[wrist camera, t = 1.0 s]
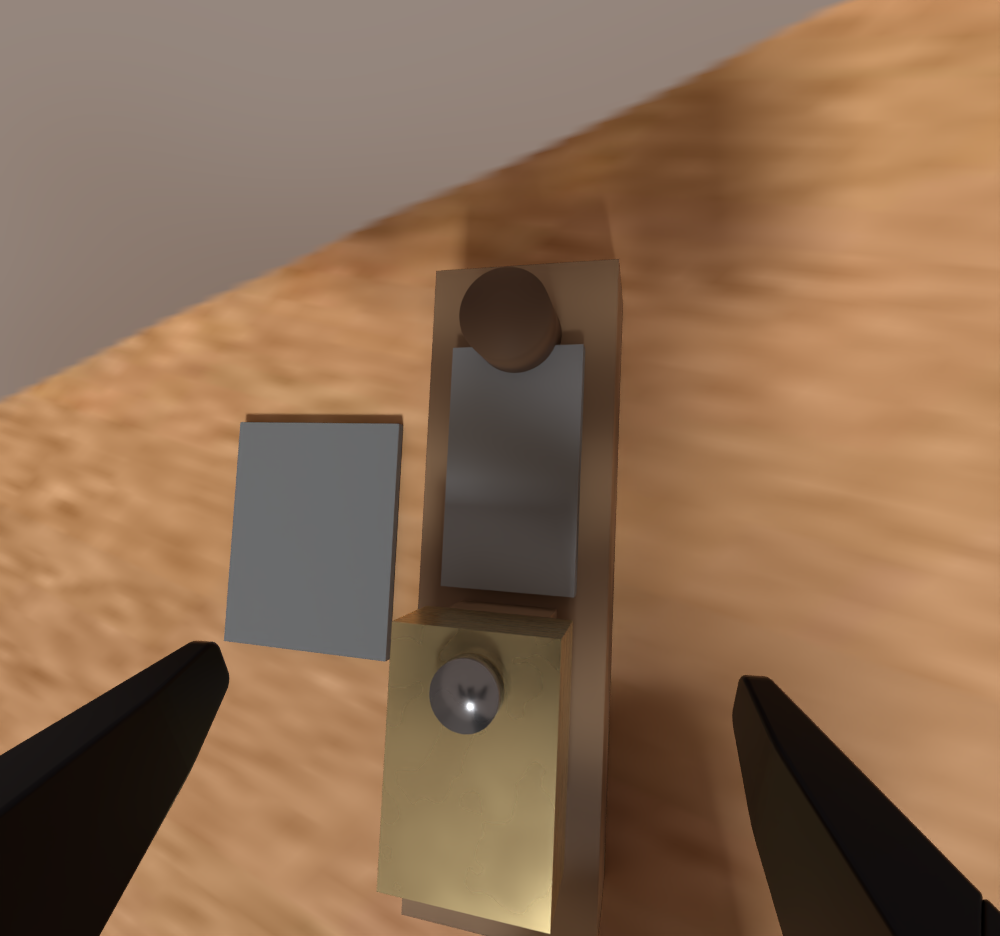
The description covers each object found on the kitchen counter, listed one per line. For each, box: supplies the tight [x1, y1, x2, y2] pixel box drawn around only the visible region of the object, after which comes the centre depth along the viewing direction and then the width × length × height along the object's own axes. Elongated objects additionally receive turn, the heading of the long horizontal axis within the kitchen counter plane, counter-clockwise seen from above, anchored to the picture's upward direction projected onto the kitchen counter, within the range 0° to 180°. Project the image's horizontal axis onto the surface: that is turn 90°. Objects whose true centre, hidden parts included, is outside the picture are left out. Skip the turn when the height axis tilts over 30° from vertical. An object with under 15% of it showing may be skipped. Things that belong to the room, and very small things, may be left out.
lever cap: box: [377, 606, 573, 934], centre depth 15 cm, size 7×5×3 cm, turn 178°
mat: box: [224, 422, 403, 661], centre depth 24 cm, size 10×8×1 cm
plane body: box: [402, 259, 623, 936], centre depth 19 cm, size 22×6×6 cm, turn 178°
